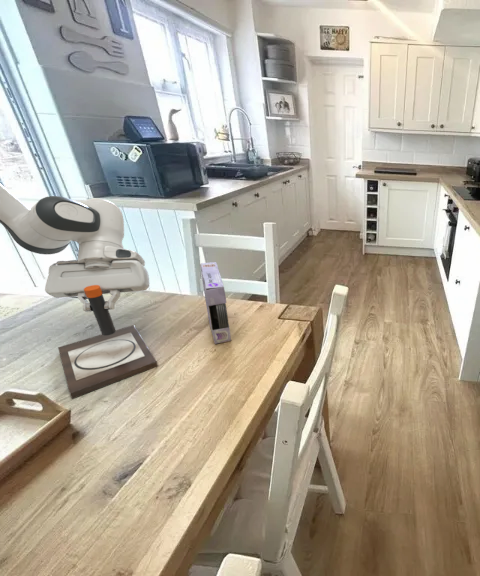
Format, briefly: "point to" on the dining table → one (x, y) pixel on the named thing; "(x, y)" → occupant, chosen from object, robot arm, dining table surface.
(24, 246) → the robot arm
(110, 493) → the dining table surface
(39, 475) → the dining table surface
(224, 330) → the cake pan box
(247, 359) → the dining table surface
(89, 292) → the marker
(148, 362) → the picture frame
